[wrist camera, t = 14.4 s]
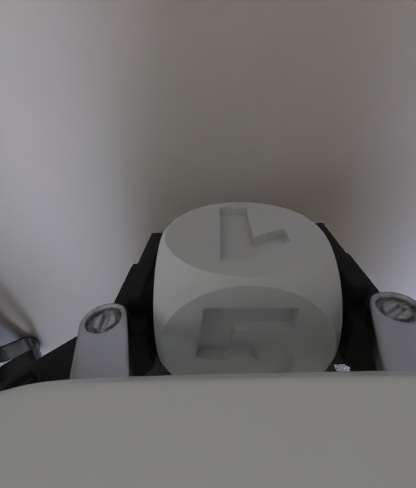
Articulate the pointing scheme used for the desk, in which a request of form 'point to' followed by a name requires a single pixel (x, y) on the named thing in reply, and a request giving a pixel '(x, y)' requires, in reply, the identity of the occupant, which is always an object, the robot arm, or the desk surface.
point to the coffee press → (18, 356)
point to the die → (246, 292)
